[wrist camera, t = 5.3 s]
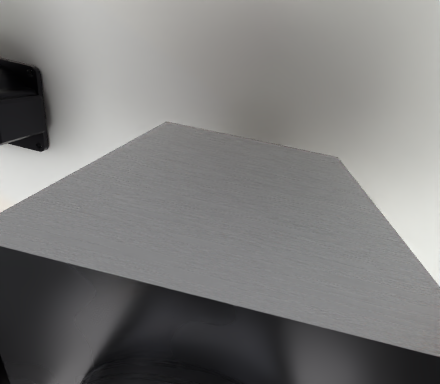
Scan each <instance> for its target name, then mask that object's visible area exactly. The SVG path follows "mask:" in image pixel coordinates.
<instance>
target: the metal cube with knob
mask: <svg viewBox="0 0 440 384" xmlns="http://www.w3.org/2000/svg"><path fill="white" fill-rule="evenodd" d="M0 355H1V358H2V361H3V364H4V366H5V369H6V372H7V375H8V378H9V381H10V384H440V287H439V285H438V284H437V283H436V282H435V280H434V279H433V278H432V277H431V275H430V274H429V273H428V271H427V270H426V269H425V268H424V266H423V265H422V264H421V263H420V261H419V260H418V259H417V257H416V256H415V255H414V254H413V252H412V251H411V250H410V249H409V247H408V246H407V245H406V243H405V242H404V241H403V240H402V238H401V237H400V236H399V235H398V233H397V232H396V231H395V230H394V228H393V227H392V226H391V224H390V223H389V222H388V221H387V219H386V218H385V217H384V216H383V214H382V213H381V212H380V210H379V209H378V208H377V207H376V205H375V204H374V203H373V202H372V200H371V199H370V198H369V197H368V195H367V194H366V193H365V191H364V190H363V189H362V188H361V186H360V185H359V184H358V183H357V181H356V180H355V179H354V177H353V176H352V175H351V174H350V172H349V171H348V170H347V169H346V167H345V166H344V165H343V163H342V162H341V161H340V160H339V158H338V157H334V156H330V155H325V154H320V153H315V152H310V151H305V150H301V149H296V148H291V147H286V146H281V145H277V144H272V143H267V142H262V141H257V140H252V139H248V138H243V137H238V136H233V135H228V134H224V133H219V132H214V131H209V130H204V129H199V128H195V127H190V126H185V125H180V124H175V123H171V122H165V123H163V124H161V125H159V126H157V127H156V128H154V129H152V130H150V131H148V132H147V133H145V134H143V135H141V136H139V137H137V138H136V139H134V140H132V141H130V142H128V143H127V144H125V145H123V146H121V147H119V148H117V149H116V150H114V151H112V152H110V153H108V154H106V155H105V156H103V157H101V158H99V159H97V160H96V161H94V162H92V163H90V164H88V165H86V166H85V167H83V168H81V169H79V170H77V171H76V172H74V173H72V174H70V175H68V176H66V177H65V178H63V179H61V180H59V181H57V182H56V183H54V184H52V185H50V186H48V187H46V188H45V189H43V190H41V191H39V192H37V193H36V194H34V195H32V196H30V197H28V198H26V199H25V200H23V201H21V202H19V203H17V204H15V205H14V206H12V207H10V208H8V209H6V210H5V211H3V212H1V213H0Z"/></svg>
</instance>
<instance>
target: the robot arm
mask: <svg viewBox="0 0 440 384" xmlns="http://www.w3.org/2000/svg"><path fill="white" fill-rule="evenodd" d="M31 71H32V72H33V75H32V74H31ZM7 143H8V144H12V145H16V146H20V147H24V148H28V149H32V150H36V151H40V152H42V151H45V150H47V149H48V139H47V130H46V120H45V111H44V101H43V92H42V82H41V74H40V71H39V69H38V68H37V67H35V66H33V65H28V64H24V63H20V62H15V61H11V60H7V59H3V58H0V145H3V144H7ZM40 144H41V146H42V147H41V146H40ZM0 384H10V381H9V378H8V375H7V372H6V369H5V366H4V364H3V361H2V358H1V355H0Z"/></svg>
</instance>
